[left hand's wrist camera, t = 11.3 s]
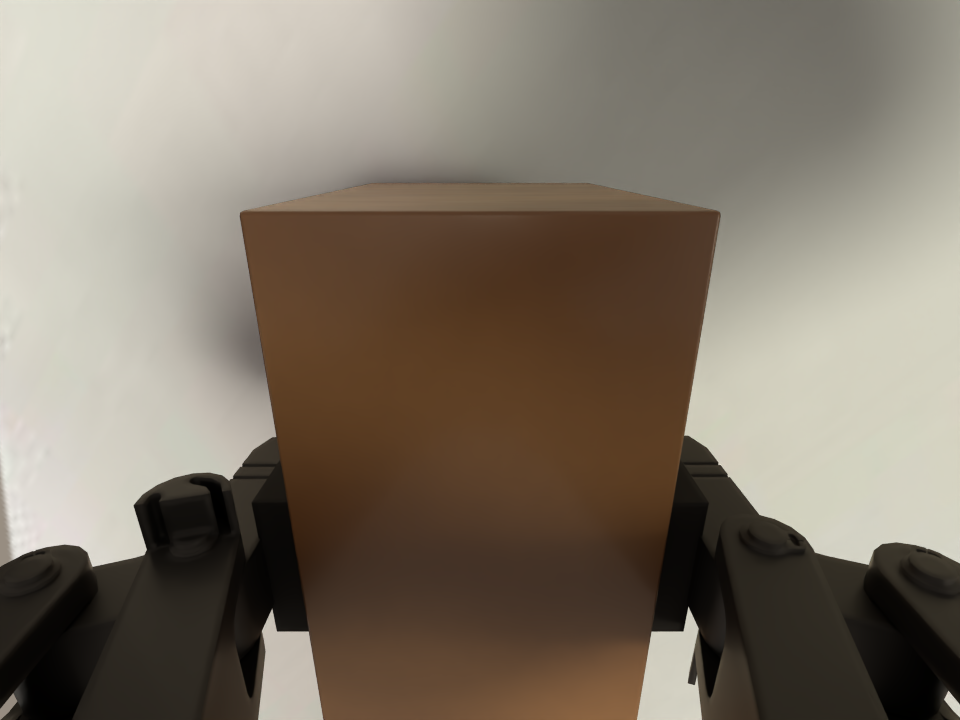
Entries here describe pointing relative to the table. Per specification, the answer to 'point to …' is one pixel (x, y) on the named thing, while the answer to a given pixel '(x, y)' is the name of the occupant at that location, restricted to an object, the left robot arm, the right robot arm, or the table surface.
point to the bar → (480, 436)
